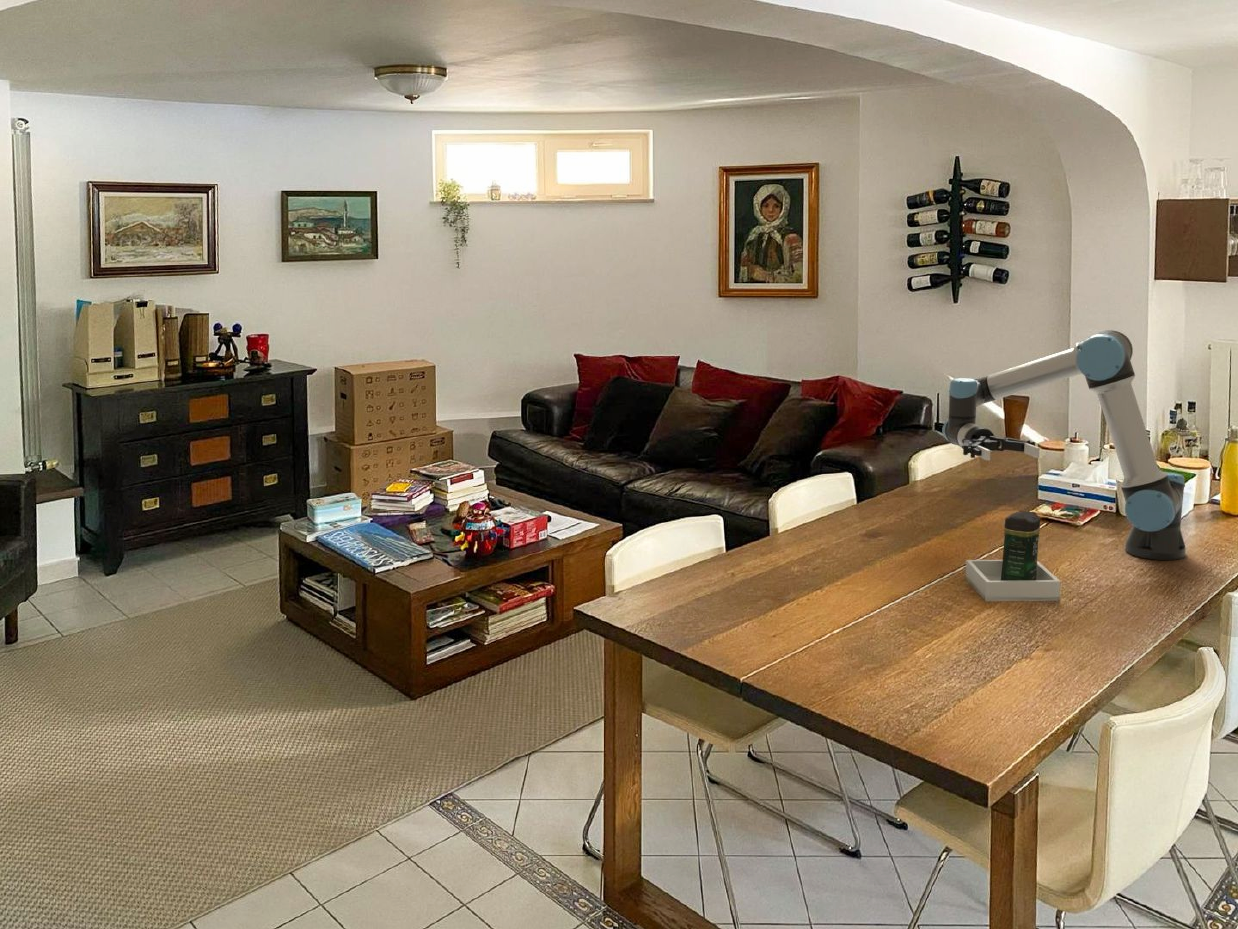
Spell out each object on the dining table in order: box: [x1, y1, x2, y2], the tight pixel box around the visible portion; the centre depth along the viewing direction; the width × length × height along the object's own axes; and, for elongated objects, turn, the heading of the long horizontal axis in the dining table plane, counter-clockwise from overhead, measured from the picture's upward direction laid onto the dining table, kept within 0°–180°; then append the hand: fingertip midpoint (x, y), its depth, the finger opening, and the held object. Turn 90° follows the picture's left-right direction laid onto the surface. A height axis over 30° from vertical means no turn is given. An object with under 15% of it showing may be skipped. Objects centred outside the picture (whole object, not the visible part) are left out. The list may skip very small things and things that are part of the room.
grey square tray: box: [964, 559, 1062, 602], centre depth 272 cm, size 18×18×5 cm
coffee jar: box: [1001, 510, 1041, 581], centre depth 272 cm, size 10×8×19 cm
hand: (1013, 454), depth 280 cm, fingers open, 13 cm apart
